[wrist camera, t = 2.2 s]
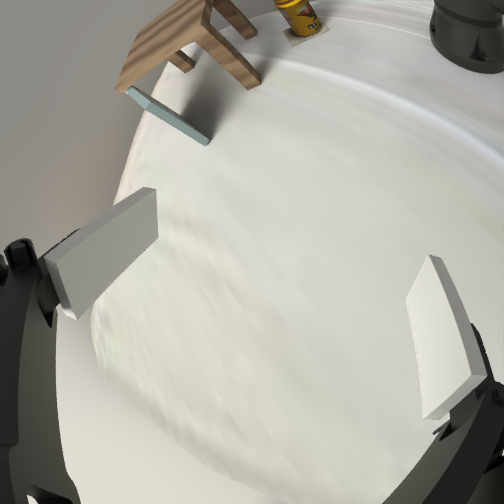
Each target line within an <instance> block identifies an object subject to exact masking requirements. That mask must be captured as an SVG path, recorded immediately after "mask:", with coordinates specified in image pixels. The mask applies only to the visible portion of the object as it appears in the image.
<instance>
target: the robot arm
mask: <svg viewBox="0 0 504 504" xmlns="http://www.w3.org/2000/svg"><path fill="white" fill-rule="evenodd" d="M434 3H435V5H434V10H433V14H432V18H431V22H430V35H431V40H432V43H433V45H434V46H435V48H436V49H437V50H438V51H439V52H440V53H441V54H442V55H443V56H444V57H445V58H447V59H448V60H450V61H451V62H453V63H455V64H457V65H459V66H461V67H463V68H465V69H468V70H471V71H475V72H479V73H486V74H493V73H499V72H501V71H503V70H504V27H503V24H502V15H504V0H434ZM157 238H158V223H157V199H156V189H152V188H146V187H143V188H141V189H140V190H138V191H136V192H135V193H133V194H132V195H130V196H128V197H127V198H125V199H124V200H122V201H120V202H119V203H117V204H116V205H114V206H113V207H111V208H110V209H109V210H107V211H105V212H104V213H102V214H101V215H99V216H98V217H97V218H95V219H94V220H92V221H91V222H89V223H88V224H86V225H85V226H84V227H82V228H80V229H77V230H75V231H74V232H72V233H71V234H70V235H68V236H67V238H64V239H63V240H62V241H60V243H58V244H56V245H55V246H54V247H52V248H51V249H50V250H49V251H47V252H46V253H45V254H43V255H42V256H41V257H40V258H38V259H37V256H36V253H35V250H34V247H33V243H32V241H31V240H30V239H27V238H24V239H19V240H16V241H14V242H12V243H11V244H9V245H8V246H7V247H6V248H5V250H4V253H5V256H6V258H7V261H8V264H9V265H6V263H5V260H4V257H3V256H2V255H1V254H0V504H29V502H28V498H27V495H29V496H32V497H33V498H34V499H35V500H36V501H37V503H38V504H81V502H80V498H79V495H78V492H77V489H76V487H75V485H74V483H73V481H72V480H71V478H70V477H69V475H68V473H67V471H66V468H65V462H64V457H63V451H62V446H61V438H60V431H59V421H58V411H57V397H56V367H55V366H56V365H55V364H56V360H55V359H56V358H55V357H56V330H57V316H58V314H57V310H56V306H57V305H58V304H59V303H60V304H61V306H62V309H63V311H64V313H65V314H66V315H68V316H70V317H72V318H73V319H75V320H78V319H79V318H80V317H81V316H82V315H83V314H84V312H85V311H86V310H87V309H88V308H89V307H90V306H91V305H92V304H93V303H94V302H95V301H96V299H97V298H98V297H99V296H100V295H101V294H102V293H103V292H104V291H105V290H106V289H107V288H108V287H109V286H110V285H111V284H112V283H113V282H114V281H115V280H116V279H117V278H118V277H119V276H120V275H121V274H122V273H123V272H124V271H125V270H126V269H127V268H128V267H129V266H130V265H131V264H132V263H133V262H134V261H135V260H136V259H137V258H138V257H139V256H140V255H141V254H142V253H143V252H144V251H145V250H146V249H147V248H148V247H149V246H150V245H151V244H152V243H153V242H154V241H155V240H156V239H157ZM405 301H406V306H407V310H408V315H409V319H410V324H411V329H412V334H413V340H414V346H415V352H416V358H417V364H418V372H419V379H420V388H421V397H422V408H423V419H431V420H439V419H441V418H442V417H443V416H444V415H446V414H447V413H448V412H450V420H448V421H447V422H446V423H444V424H443V425H442V426H441V427H439V428H438V429H436V430H435V431H434V432H433V434H434V435H435V434H436V433H438V432H439V431H440V432H439V434H438V435H437V437H436V438H435V440H434V441H433V442H432V444H431V445H430V447H429V448H428V450H427V451H426V452H425V454H424V455H423V456H422V458H421V459H420V460H419V462H418V463H417V464H416V466H415V467H414V468H413V469H412V471H411V472H410V473H409V474H408V475H407V477H406V478H405V479H404V480H403V481H402V483H401V484H400V485H399V486H398V487H397V488H396V489H395V491H394V492H393V493H392V494H391V495H390V496H389V497H388V498H387V499H386V500H385V501H384V502H383V503H382V504H504V456H502V453H503V450H504V385H503V384H501V383H500V382H496V381H495V380H494V377H493V373H492V370H491V366H490V363H489V360H488V357H487V354H486V353H485V352H486V351H485V348H484V345H483V342H482V339H481V336H480V334H479V332H478V331H477V329H476V328H475V326H474V325H473V323H470V321H469V319H468V316H467V314H466V311H465V309H464V306H463V304H462V301H461V299H460V297H459V295H458V292H457V290H456V288H455V286H454V283H453V281H452V279H451V277H450V275H449V273H448V271H447V269H446V267H445V265H444V263H443V261H442V259H441V258H439V257H436V256H432V255H429V254H428V256H427V258H426V260H425V262H424V264H423V266H422V268H421V271H420V273H419V275H418V277H417V278H416V280H415V282H414V284H413V286H412V288H411V290H410V292H409V294H408V296H407V297H406V299H405Z"/></svg>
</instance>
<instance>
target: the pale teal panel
mask: <svg viewBox="0 0 504 504" xmlns="http://www.w3.org/2000/svg"><path fill="white" fill-rule="evenodd" d="M125 93H127V94H128V95H130V96H131V97H132V98H134V100H135V101H136V102H137V103H139V104H140V105H141V106H142V107H143V108H144V109H145V110H147V111H148V112H150V113H152V114H153V115H155V116H157V117H159V118H160V119H162V120H164V121H165V122H167V123H168V124H170V125H172V126H173V127H175V128H177V129H178V130H180V131H182V132H183V133H185V134H186V135H188V136H190V137H191V138H193V139H194V140H196V141H197V142H199V143H201V144H202V145H204V146H206V144H207V143H208V142H209V139H208V138H207V137H205V136H204V135H203V134H202V133H200V132H199V131H198V130H197V129H195V128H194V127H193V126H192V125H190V124H189V123H188V122H187V121H185V120H184V119H183V118H182V116H180V115H179V114H177V113H176V112H174V111H173V110H171V109H170V108H168V107H167V106H165V105H163V104H162V103H160V102H159V101H157V100H156V99H154V98H152V97H151V96H149V95H148V94H146V93H144V92H143V91H141V90H139V89H138V88H136V87H134V86H133V85H132V86H130V87H129V88H128V89H127V90H126V91H125Z"/></svg>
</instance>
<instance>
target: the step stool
mask: <svg viewBox="0 0 504 504" xmlns="http://www.w3.org/2000/svg"><path fill="white" fill-rule="evenodd" d="M212 6H213V7H214V8H215V9H216V10H217V11H218V12H219V13H220V14H221V15H222V16H223V17H224V18H225V19H226V20H227V21H228V22H229V23H230V24H231V25H232V26H233V27H234V28H235V29H236V30H237V31H238V32H239V33H240V34H241V35H242V36H243V37H244V38H245V40H246V39H248V38H251V37H253V36H255V35H257V33H256V28H255V27H254V26H253V25H252V24H251V22H250V21H249V20H248V19H247V18H246V17H245V16H244V15H243V14H242V12H241V11H240V10H239V9H238V8H237V7H236V6H235V5H234V4H233V3H232V2H231V1H230V0H180V1H178V2H177V3H175V4H174V5H173V6H171V7H170V8H168V9H167V10H166V11H164V12H163V13H162V14H160V15H159V16H158V17H156V18H155V19H154V20H153V21H152V22H150V23H149V24H148V25H146V26H145V27H144V28H143V29H142V30H140V31H139V32H138V34H137V37H136V39H135V41H134V43H133V45H132V47H131V50H130V52H129V54H128V57H127V59H126V61H125V64H124V67H123V69H122V72H121V74H120V76H119V79H118V82H117V85H116V87H115V90H117V91H119V92H121V93H123V92H125V91H126V90H127V89H128V88H129V87H130V86H132V85H133V84H134V83H135V82H136V81H138V80H139V79H140V78H141V77H143V76H144V75H145V74H146V73H148V72H149V71H150V70H151V69H153V68H154V67H156V66H157V65H158V64H160V63H161V62H162V61H164V60H165V59H167V60H168V61H170V62H171V63H172V64H174V65H175V66H176V67H178V68H179V69H180V70H182V71H183V72H184V73H186V72H188V71H190V70H191V69H193V68H194V63H195V61H194V60H192V59H191V58H190V57H189V56H187V55H186V54H185V53H184V52H182V51H181V50H180V49H181V48H183V47H184V46H186V45H187V44H189V43H190V42H192V41H193V40H194V41H195V42H196V43H197V44H198V45H199V46H201V47H202V48H203V49H204V50H205V51H206V52H208V53H209V54H210V55H211V56H212V57H213V58H214V59H215V60H216V61H218V62H219V63H220V64H221V65H222V66H223V67H224V68H225V69H226V70H227V71H228V72H229V73H230V74H232V75H233V76H234V77H235V78H236V79H237V80H238V81H239V82H240V83H241V84H242V85H243V86H244V87H245V88H246V89H247V90H249V89H251V88H254V87H256V86H258V85H261V78H260V74H259V73H258V72H257V71H256V70H255V68H254V67H253V66H252V65H251V64H250V63H249V62H248V61H247V60H246V59H245V58H244V57H243V56H242V55H241V54H240V53H239V52H238V51H237V49H236V48H235V47H234V46H233V45H232V44H231V43H230V42H229V41H228V40H227V39H226V38H225V37H223V36H222V35H221V34H220V33H219V32H218V31H217V30H216V29H215V28H214V27H213V26H212V25H211V24H210V17H211V11H212Z"/></svg>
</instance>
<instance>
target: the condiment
mask: <svg viewBox="0 0 504 504" xmlns="http://www.w3.org/2000/svg"><path fill="white" fill-rule="evenodd" d="M274 1H275V5H276V7H277V8H278V10H279V11H280V12H281V14H282V15H283V16H284V18H285V19H286V20H287V22H288V23H289V25H290V26H291V28H288V29H286V30H284V31H283V32H284V34H285V35H286V37H287V38H288V40H289V42H290V43H291V45H292V46H294V45H296V44H298V43H300V42H303V41H305V40H307V39H309V38H312V37H314V36H317V35H319V34H322V33H324V32H326V31H328V30H329V29H328V28H327V27H326V26H325V25H324V24H323V23H322V21H321V20H320V19H319V18H318V17H317V15H316V13H315V11H314V10H313V8H312V7H311V5H310V4H309V2H308V0H274Z"/></svg>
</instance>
